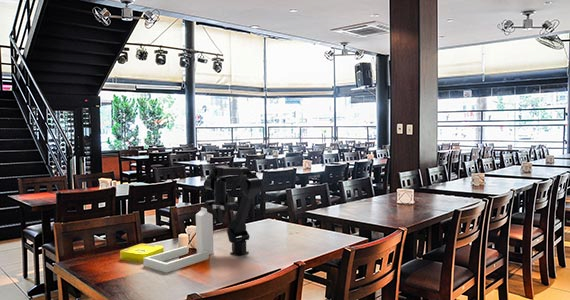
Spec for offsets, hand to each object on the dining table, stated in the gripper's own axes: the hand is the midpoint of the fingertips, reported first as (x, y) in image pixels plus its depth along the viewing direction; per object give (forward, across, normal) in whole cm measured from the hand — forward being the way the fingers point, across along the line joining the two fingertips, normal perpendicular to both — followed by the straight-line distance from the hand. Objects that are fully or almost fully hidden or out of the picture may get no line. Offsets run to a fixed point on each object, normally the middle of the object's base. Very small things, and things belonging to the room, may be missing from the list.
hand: (221, 222), depth 218 cm
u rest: (+13, 0, +27) cm, 30 cm away
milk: (+13, 0, +11) cm, 17 cm away
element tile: (+14, +21, +32) cm, 40 cm away
